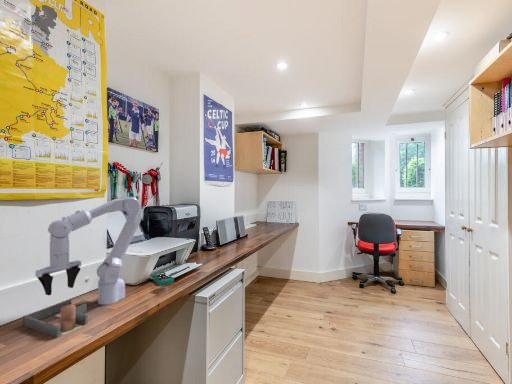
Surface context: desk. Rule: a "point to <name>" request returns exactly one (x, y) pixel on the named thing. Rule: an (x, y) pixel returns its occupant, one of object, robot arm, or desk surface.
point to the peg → (67, 318)
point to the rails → (34, 318)
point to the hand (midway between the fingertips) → (59, 290)
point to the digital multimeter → (162, 279)
